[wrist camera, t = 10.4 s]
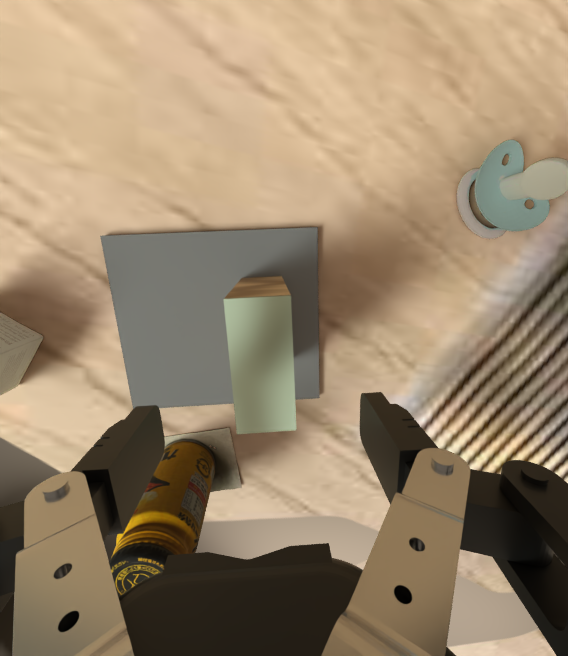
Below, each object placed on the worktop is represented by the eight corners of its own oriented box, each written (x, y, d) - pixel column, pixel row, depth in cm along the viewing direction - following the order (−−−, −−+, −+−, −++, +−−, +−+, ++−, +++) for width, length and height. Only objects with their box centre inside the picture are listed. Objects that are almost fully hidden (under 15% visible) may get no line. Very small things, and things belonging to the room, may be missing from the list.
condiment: (147, 439, 31) (73, 554, 19) (229, 426, 31) (206, 534, 19) (164, 497, 33) (107, 634, 21) (242, 485, 33) (227, 615, 21)
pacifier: (478, 254, 28) (537, 210, 27) (534, 258, 22) (613, 201, 21) (438, 186, 26) (499, 137, 25) (486, 170, 20) (569, 105, 19)
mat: (316, 227, 26) (317, 227, 26) (318, 395, 30) (319, 398, 30) (104, 236, 26) (100, 235, 25) (136, 406, 30) (133, 409, 29)
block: (281, 275, 27) (290, 295, 16) (285, 361, 29) (296, 430, 18) (241, 278, 26) (223, 299, 16) (248, 363, 28) (236, 434, 18)
